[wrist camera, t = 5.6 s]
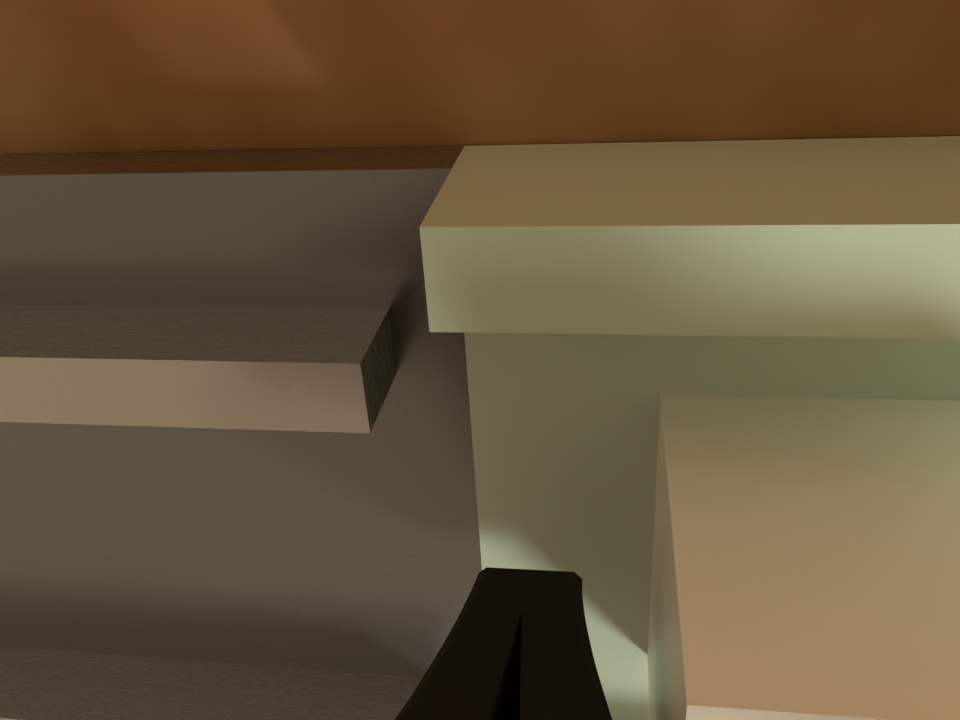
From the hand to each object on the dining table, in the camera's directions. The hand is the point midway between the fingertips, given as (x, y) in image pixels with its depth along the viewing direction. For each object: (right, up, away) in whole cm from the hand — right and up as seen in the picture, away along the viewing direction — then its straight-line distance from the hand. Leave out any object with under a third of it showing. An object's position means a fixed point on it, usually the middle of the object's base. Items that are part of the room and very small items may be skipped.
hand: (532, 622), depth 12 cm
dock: (-8, +1, +3) cm, 9 cm away
